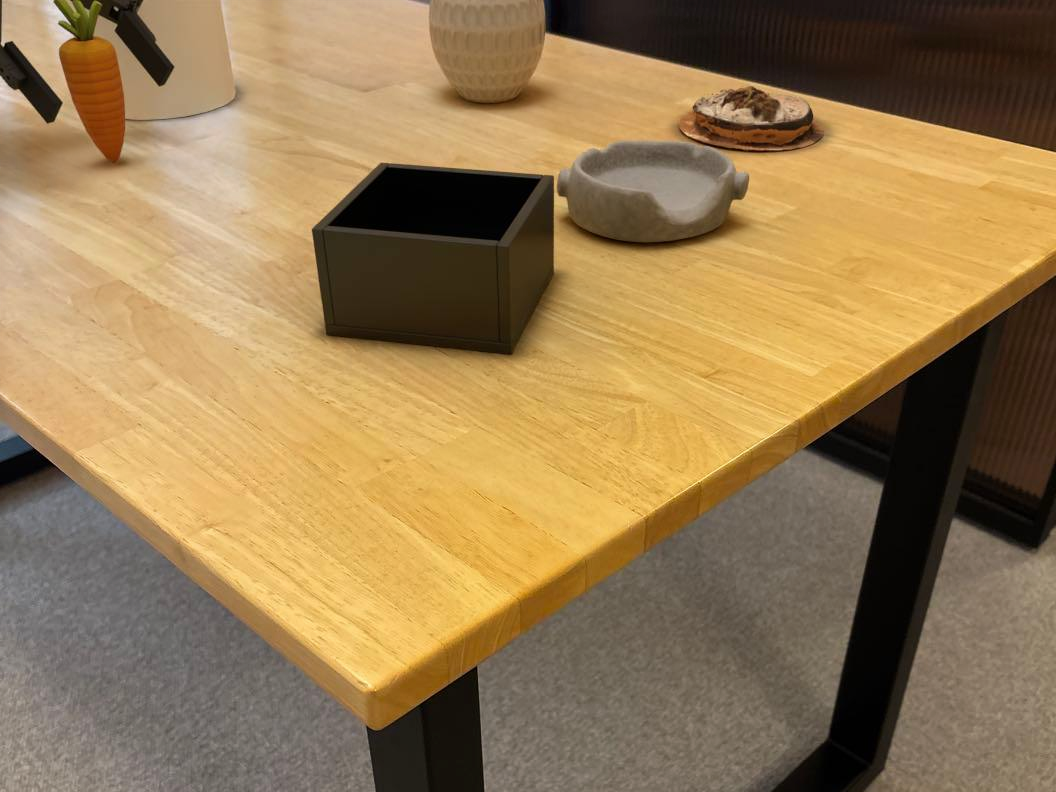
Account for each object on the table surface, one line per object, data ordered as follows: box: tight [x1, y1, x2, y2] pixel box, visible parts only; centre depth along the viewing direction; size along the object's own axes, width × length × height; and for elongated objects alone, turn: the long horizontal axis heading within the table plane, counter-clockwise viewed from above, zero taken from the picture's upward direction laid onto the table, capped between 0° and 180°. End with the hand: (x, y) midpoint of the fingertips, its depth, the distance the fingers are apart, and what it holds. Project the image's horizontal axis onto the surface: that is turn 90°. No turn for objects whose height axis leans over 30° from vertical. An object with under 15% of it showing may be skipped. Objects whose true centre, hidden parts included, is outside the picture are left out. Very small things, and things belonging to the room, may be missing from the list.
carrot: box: [53, 0, 126, 164], centre depth 101 cm, size 5×5×15 cm
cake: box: [678, 85, 825, 152], centre depth 112 cm, size 15×15×4 cm
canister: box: [66, 0, 237, 121], centre depth 117 cm, size 16×16×20 cm
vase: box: [428, 0, 547, 104], centre depth 119 cm, size 13×13×17 cm
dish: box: [556, 140, 750, 243], centre depth 93 cm, size 14×14×5 cm
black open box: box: [311, 162, 555, 355], centre depth 78 cm, size 14×14×8 cm
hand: (113, 94), depth 101 cm, fingers open, 13 cm apart
